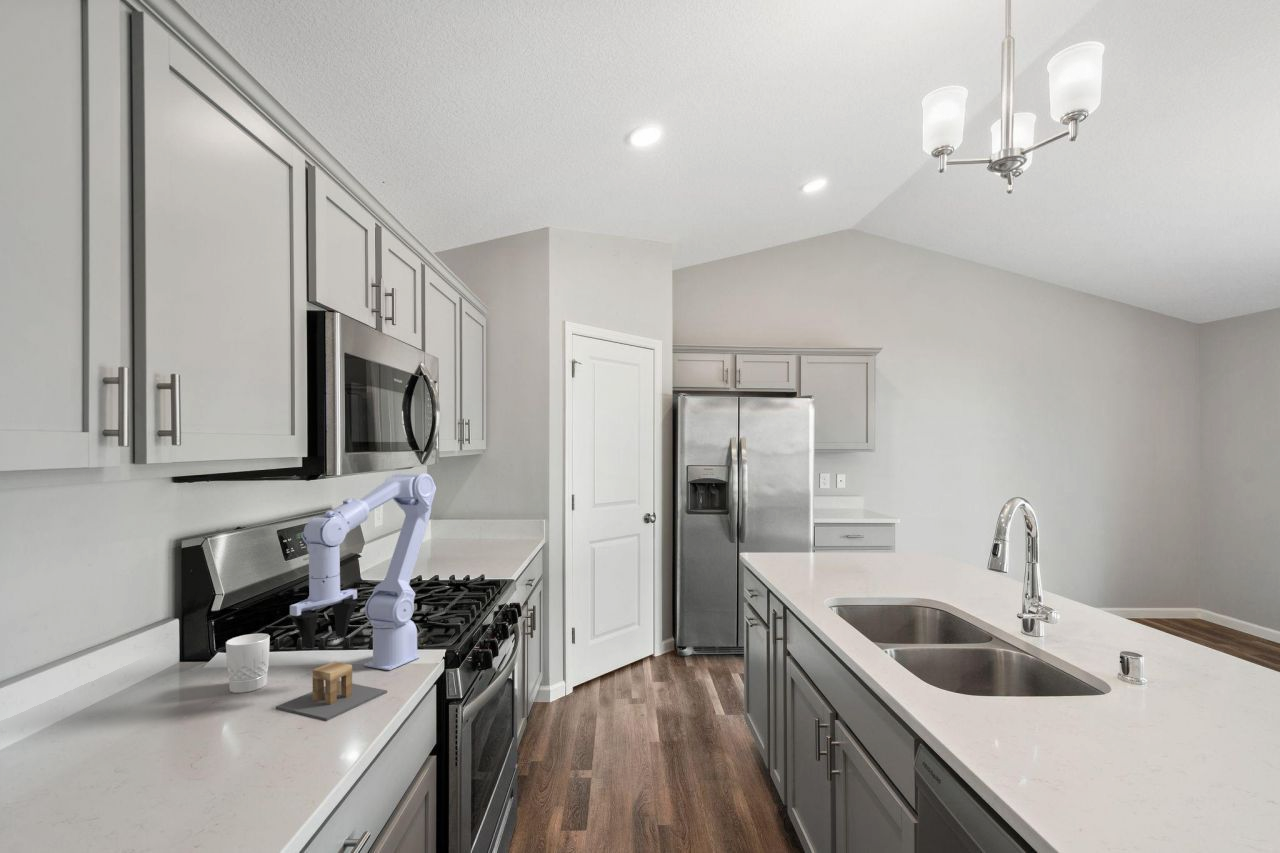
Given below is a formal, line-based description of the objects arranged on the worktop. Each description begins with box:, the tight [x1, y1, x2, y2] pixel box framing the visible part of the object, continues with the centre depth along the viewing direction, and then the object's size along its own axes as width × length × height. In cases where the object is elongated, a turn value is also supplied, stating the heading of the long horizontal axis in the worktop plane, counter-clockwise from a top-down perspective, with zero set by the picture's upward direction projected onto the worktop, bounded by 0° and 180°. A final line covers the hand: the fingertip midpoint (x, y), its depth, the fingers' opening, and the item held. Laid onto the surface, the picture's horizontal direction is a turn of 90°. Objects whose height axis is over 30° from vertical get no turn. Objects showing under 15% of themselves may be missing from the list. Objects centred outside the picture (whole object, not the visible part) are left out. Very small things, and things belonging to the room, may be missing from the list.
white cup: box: [225, 633, 271, 694], centre depth 133 cm, size 8×8×10 cm
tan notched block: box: [312, 661, 353, 705], centre depth 125 cm, size 5×5×6 cm
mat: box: [276, 680, 388, 721], centre depth 125 cm, size 14×14×1 cm
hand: (325, 641), depth 130 cm, fingers open, 7 cm apart
